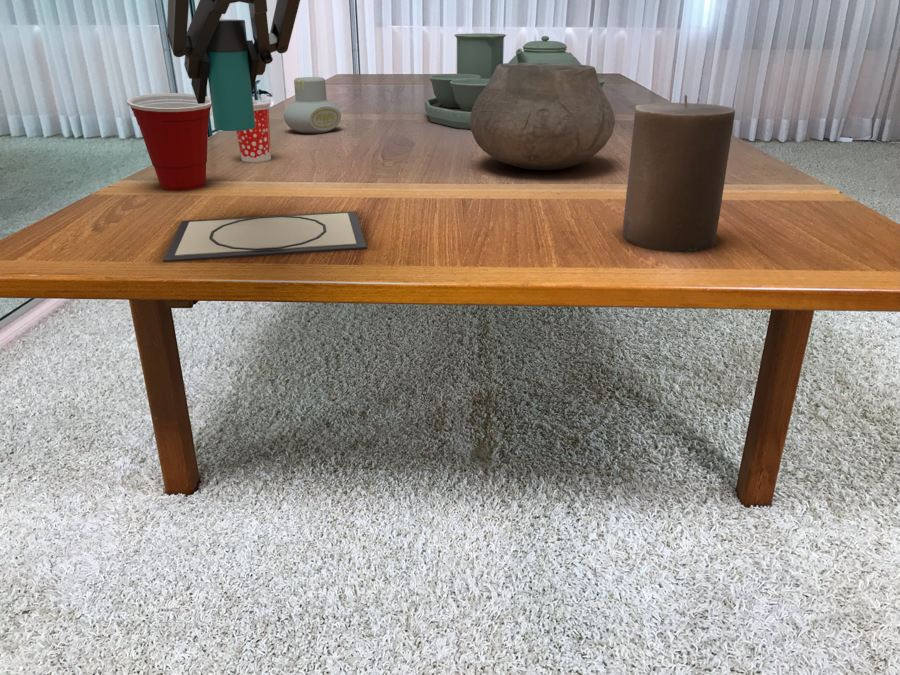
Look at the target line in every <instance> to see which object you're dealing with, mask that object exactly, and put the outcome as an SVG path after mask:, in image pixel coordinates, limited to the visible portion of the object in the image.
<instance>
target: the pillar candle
mask: <svg viewBox="0 0 900 675" xmlns="http://www.w3.org/2000/svg"><path fill="white" fill-rule="evenodd" d="M735 114H736V110H735V109H734V108H732V107H730V106H725V105H719V104H710V103H702V102H701V103H697V102H688V95H687V94H684V102H662V103H661V102H659V103H646V104H645V103H644V104H638V105H635V108H634V118H633V126H632V136H631V146H630V157H629V168H628V173H627V174H628V177H627V186H626V193H625V205H624V212H623V225H622V238H623V240H625V241H626V242H627V243H629V244H631V245H633V246H636V247H639V248H642V249H644V250H645V249H646V250H651V251H658V252H667V253H682V254H683V253H698V252H701V251H704V250H708V249H712V248H713V247H714V246H715V245H716V241H717V234H718V233H717V232H718V227H719V220H720V216H721V209H722V203H723V202H722V201H723V194H724V188H725V182H726V175H727V169H728V168H727V167H728V161H729V155H730V148H731V141H732V135H733V129H734V121H735V117H736V116H735Z"/></svg>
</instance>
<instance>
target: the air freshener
mask: <svg viewBox="0 0 900 675" xmlns="http://www.w3.org/2000/svg"><path fill="white" fill-rule="evenodd" d="M293 87H294V96H295V101H294V102H292V103H290V104H289V105H288V106H287V107H286V108H285V110H284V113H283V120H284V122H285V125H287V126H288V127H289V129H291V130H293V131H294V132H297V133H299V134H308V135H316V134H317V135H318V134H326V133H329V132H331V131H333V130H334V129H335V128H336V127H337V126H338V125H339V124H340V123H341V120H342V114H341V113H342V112H341V110H340V109H339V108H338V107H337V105H336V104H334V103H333V102H331V101H329V100H328V98H327V88H326V87H327V86H326V79H325V78H324V77H322V76H321V77H320V76H304V77H303V76H301V77H296V78H294V79H293Z"/></svg>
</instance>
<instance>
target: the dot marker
mask: <svg viewBox="0 0 900 675" xmlns="http://www.w3.org/2000/svg"><path fill="white" fill-rule="evenodd" d="M246 26H247V25H246V20H245V19H220V20H219V22H218V24H217V27H216V29H215V31H214V33H213V36H212V38H211V40H210V42H209V45H208V47H207V49H206V53H207V56H208V58H209V61H210V65H209V73H208V82H207V83H208V87H209V98H211V104H212V106H211V110H212V118H213V126H214V129H215V130H216V131H222V132H236V131H242V130H249V129H253V128H255V127H256V126H255V117H254V108H253V100H254V98H253V96H252V90H251V81H250V71H249V62H248V53H247V51H248V44H247V40H248V37H247V35H248V34H247V27H246Z"/></svg>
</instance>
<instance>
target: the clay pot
mask: <svg viewBox="0 0 900 675" xmlns="http://www.w3.org/2000/svg"><path fill="white" fill-rule="evenodd" d="M598 79H599V77H598V73H597V70H596V67H595V66H593V65H588V64H581V65H580V64H561V63H509V62H505V63H504V62H503V64H499V65H498V66H497V67H496V69H495V71H494V73H493V75H492V76H491V78H490V80H489V82H488V84H487V85H486V87H485V88H484V89H483V91H482V92H481V94H480V95H479V96H478V98H477V100H476V102H475V103H474V106H473V109H472V111H471V115H470V122H469V123H470V128H471V129H470V132H471V133H472V137H473V138H474V140H475V143H476V144H477V146H478V147H479V148H480V149H481V150H482V151H483V152H485V153H486V155H488V156H489V157H491V158H493V159H494V160H496V161H498V162H500V163H504V164H506V165H508V166H512V167H515V168H519V169H523V170H529V171H530V170H531V171H545V172H546V171H556V170H557V171H558V170H564V169H567V168H568V169H569V168H571V167H575V166H576V165H579V164H582V163H584V162H585V161H588V160H589V159H591V158H593V157H594V156H595V155H596V154H598V153H599V152H600V151H602V149H603V148H604V147H605V146H606V145H607V143H608V142H609V140H610V138H611V137H612V135H613V133H614V129H615V124H616V118H615V113H614V111H613V107H612V105H611V102H610V101H609V99H608V97H607V96H606V94H605V92H604V90H603V89H601V86H600V83H599V81H598Z"/></svg>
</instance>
